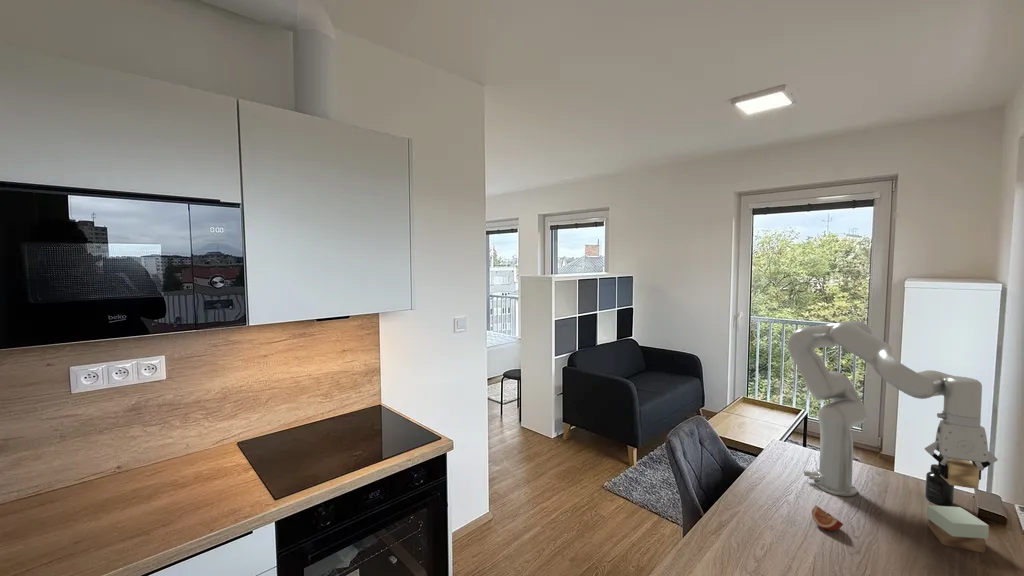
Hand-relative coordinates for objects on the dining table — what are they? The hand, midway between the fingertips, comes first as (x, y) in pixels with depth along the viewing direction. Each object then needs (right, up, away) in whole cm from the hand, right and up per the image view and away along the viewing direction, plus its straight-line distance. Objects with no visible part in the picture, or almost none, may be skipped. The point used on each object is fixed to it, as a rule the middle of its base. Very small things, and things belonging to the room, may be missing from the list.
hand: (958, 478), depth 125 cm
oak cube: (0, -1, 0) cm, 1 cm away
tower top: (0, -15, +1) cm, 15 cm away
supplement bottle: (+15, -17, +21) cm, 31 cm away
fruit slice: (-33, -19, +8) cm, 39 cm away
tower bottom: (0, -19, +1) cm, 19 cm away
